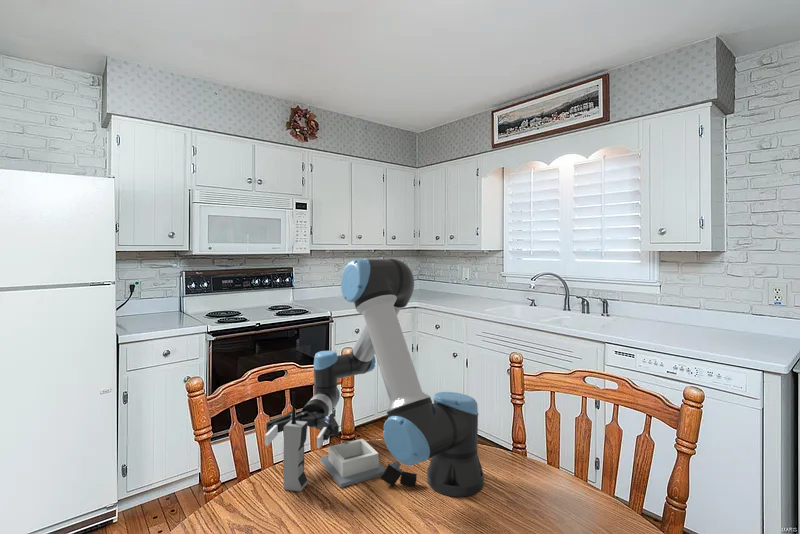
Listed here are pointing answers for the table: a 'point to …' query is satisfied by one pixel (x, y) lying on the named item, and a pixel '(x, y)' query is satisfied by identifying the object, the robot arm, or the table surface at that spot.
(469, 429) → the robot arm
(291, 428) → the vintage mobile phone
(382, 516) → the table surface
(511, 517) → the table surface
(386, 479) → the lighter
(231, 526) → the table surface
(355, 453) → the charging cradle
